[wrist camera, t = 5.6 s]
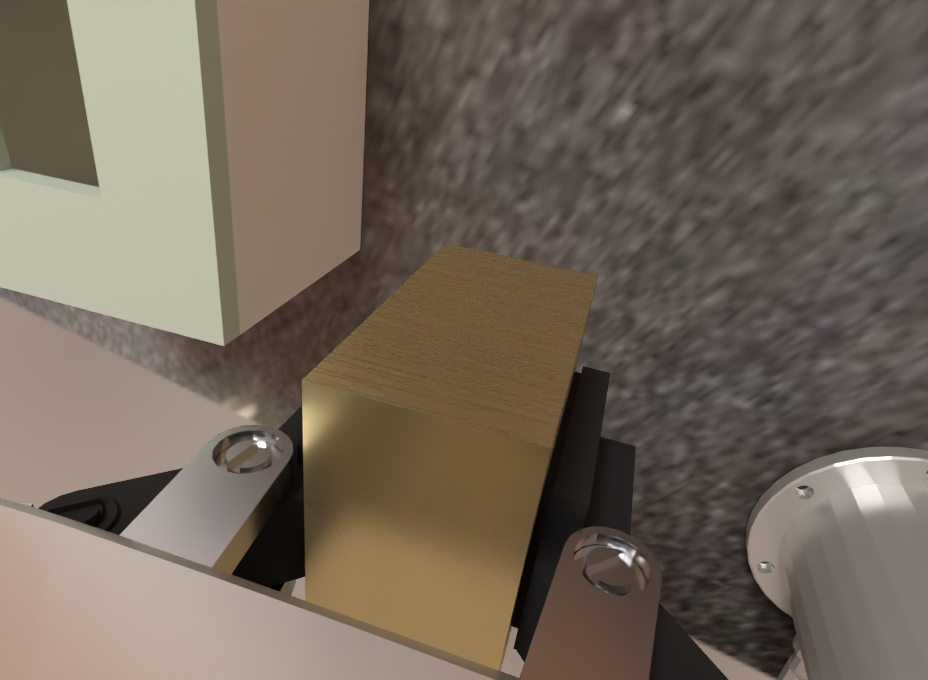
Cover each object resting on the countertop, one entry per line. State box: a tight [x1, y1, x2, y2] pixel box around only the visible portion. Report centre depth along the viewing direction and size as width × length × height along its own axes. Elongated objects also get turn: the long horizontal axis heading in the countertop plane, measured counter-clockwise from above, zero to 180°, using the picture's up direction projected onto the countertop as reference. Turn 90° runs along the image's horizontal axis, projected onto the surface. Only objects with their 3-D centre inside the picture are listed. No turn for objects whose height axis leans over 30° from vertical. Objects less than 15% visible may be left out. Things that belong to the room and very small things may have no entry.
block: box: [302, 243, 598, 671], centre depth 11 cm, size 6×3×6 cm, turn 173°
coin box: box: [0, 0, 369, 346], centre depth 25 cm, size 18×14×12 cm
